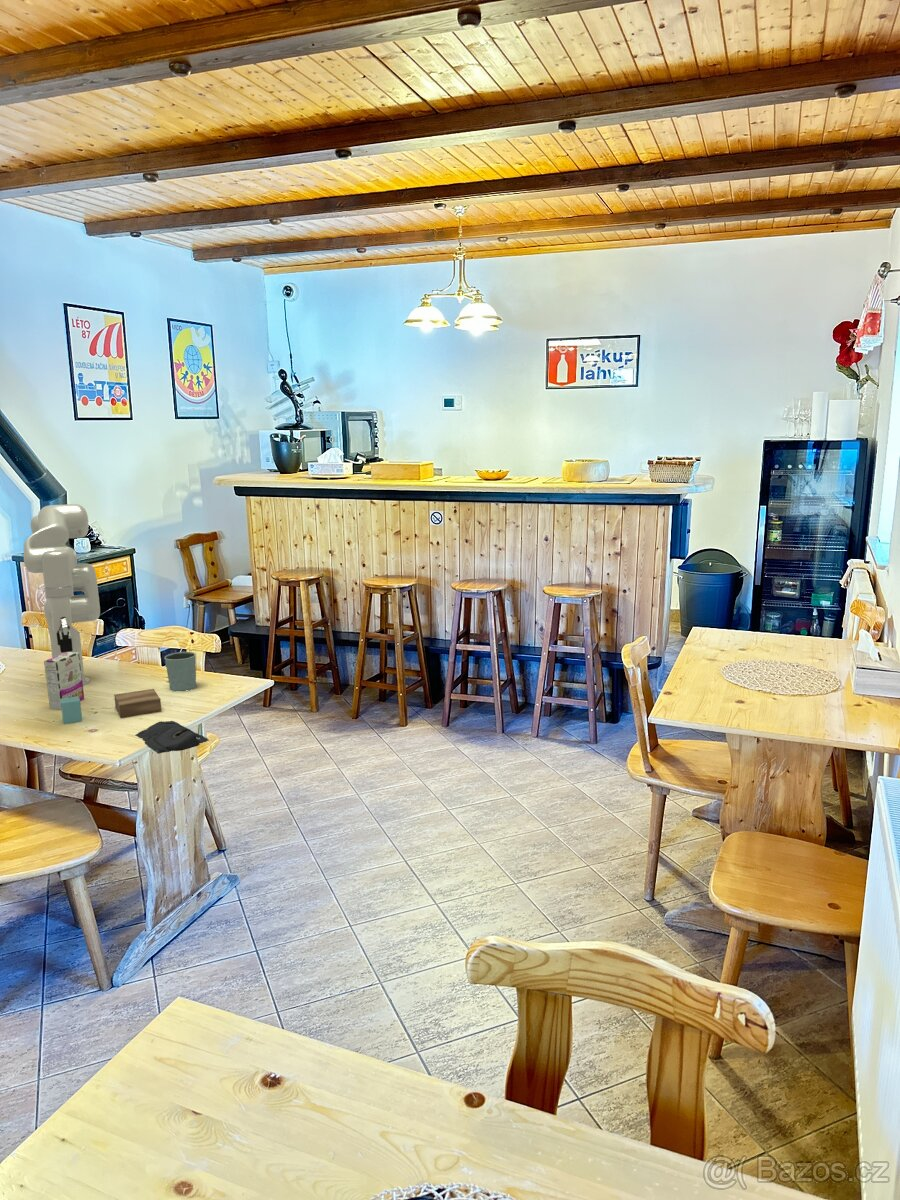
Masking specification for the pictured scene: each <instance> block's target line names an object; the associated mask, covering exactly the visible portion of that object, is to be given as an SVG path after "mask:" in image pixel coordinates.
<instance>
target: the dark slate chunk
mask: <svg viewBox="0 0 900 1200" xmlns="http://www.w3.org/2000/svg"><path fill="white" fill-rule="evenodd" d="M134 736H135V737H138V738H139V739H142V741H143V742H144V745H146V747H148V748H149V749H151V750H152V751H154V752H155V753H156V754H157V755H158V754H159V755H160V754H164V753H169V752H179V751H185V750H189V749H192V748H196V747H198V746H200V745H201V744H203V743H206V742H210V739H208V738H207V737H205V736H204V735H201V734H199V733H197V732H195V731H193V730H191V729H190V728H188V727H185V726H183V725H181V723H178V722H176V721H174V720H170V721H169V720H168V721H162V720H161V721H158V722H156V723H154V724H152V725H150V726H149V727H147V728H146V729H143V730H141V731H139V732H138V733H136V734H135V735H134Z"/></svg>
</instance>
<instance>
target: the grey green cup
mask: <svg viewBox="0 0 900 1200" xmlns="http://www.w3.org/2000/svg"><path fill="white" fill-rule="evenodd" d="M196 659H197V657H196V653H195V652H192V651H178V652H171V653H169V654H167V655H165V656H164V662H165V667H166V672H167V673H166V674H167V677H168V678H167V679H168V685H169V689H170V691H171V690H172V692H176V691H182V692H187V691H186V690H189V691H192V690H194V689H196V688H197V666H196V665H197V664H196V663H197V662H196V661H197V660H196ZM191 689H192V690H191Z"/></svg>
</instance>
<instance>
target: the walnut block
mask: <svg viewBox="0 0 900 1200" xmlns="http://www.w3.org/2000/svg"><path fill="white" fill-rule="evenodd" d="M114 705H115V710H116V711H117V713H118V716H119V718H120V719H125V718H130V717H137V716H143V715H148V714H149V715H150V714H155V713H156V714H157V713H161V712H162V702H161V697H159V695H158V692H157V691H156V690H155V688H150V689H143V690H136V691H130V692H124V693H116V694H115V693H114Z"/></svg>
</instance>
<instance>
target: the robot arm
mask: <svg viewBox="0 0 900 1200" xmlns="http://www.w3.org/2000/svg"><path fill="white" fill-rule="evenodd" d="M29 523H30V529H31V532H32V534H31V535H30V536H28V538H26V540H25V542H24V544H23V563H24V567H25V569H26V570H27V571H28V572H29V573H31V574H42V576H43V586H44V595H45V599H47V600H46V601H45V603H44V605H43V612H44V616H45V619H46V624H47V627H48V634H49V642H50V643H49V644H50V649H51V650H50V651H51V658H53V657H55V656H58V655H60V654H63V653H65V652H79V658H80V666H81V676H82V683H83V687H85V686H86V685H89V683H90V678H89V677H87V676H85V670H84V662H83V660H84V659H83V653H82V652H83V650H82V643H81V642H82V641H81V635H80V632H79V631H78V630H77V629H76V628H75V627H74V626H73V624H76V623H85V622H86V623H87V622H93V621H97V620H98V619H99V618H100V615H101V606H100V596H99V589H98V588H99V586H98V579H97V573H96V570H95V567H94V566H93V565H92V564H90V563H84V562H83V563H78V554H77V552H76V551H75V550H74V549H73V548H72V547H71V546H67V545H66V543H67V542H68V541H69V539H80V538H84V537H86V536H87V534H88V532H89V516H88V512H87V511H86V509H85V507H84V506H82V505H80V504H75V503H72V504H70V503H69V504H65V503H64V504H51V505H45V506H43V507H42V508H41V509H40V510H39V511H38V514H37V515H35V516H33V517H32V518H31V519H30V522H29ZM74 592H83V593H84V594H77V595H76V594H75V595H74Z"/></svg>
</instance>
